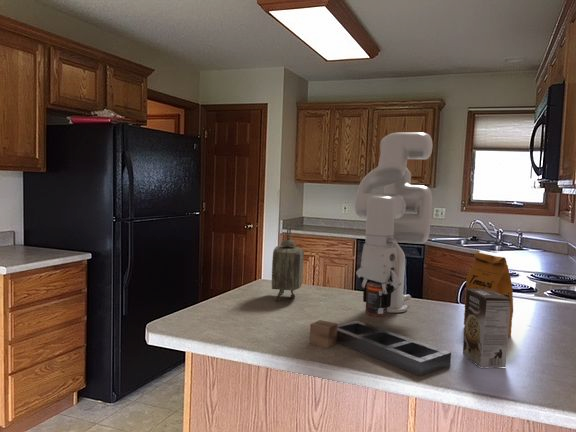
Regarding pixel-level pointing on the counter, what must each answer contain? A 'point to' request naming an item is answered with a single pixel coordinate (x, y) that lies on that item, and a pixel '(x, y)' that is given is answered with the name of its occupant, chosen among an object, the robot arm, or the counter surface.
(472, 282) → the coffee package
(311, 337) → the walnut block
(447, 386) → the counter surface
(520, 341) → the counter surface
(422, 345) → the rail
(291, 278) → the tabletop clock
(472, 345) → the coffee box
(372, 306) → the supplement bottle
